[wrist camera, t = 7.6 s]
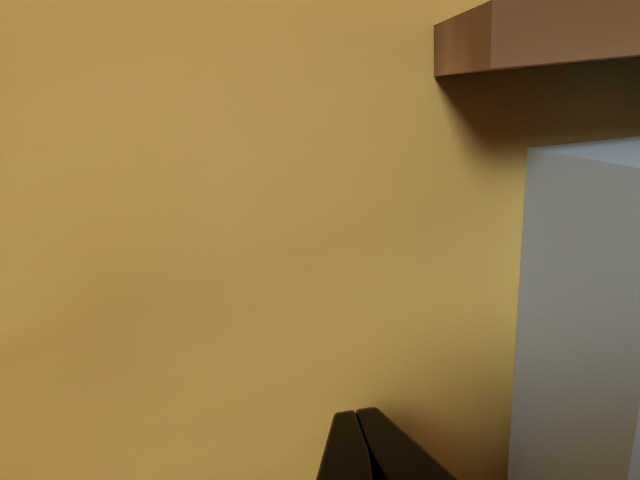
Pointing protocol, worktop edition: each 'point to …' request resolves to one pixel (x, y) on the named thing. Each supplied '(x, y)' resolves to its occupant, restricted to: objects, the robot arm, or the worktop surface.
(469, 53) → the dock
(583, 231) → the t block
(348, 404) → the worktop surface
